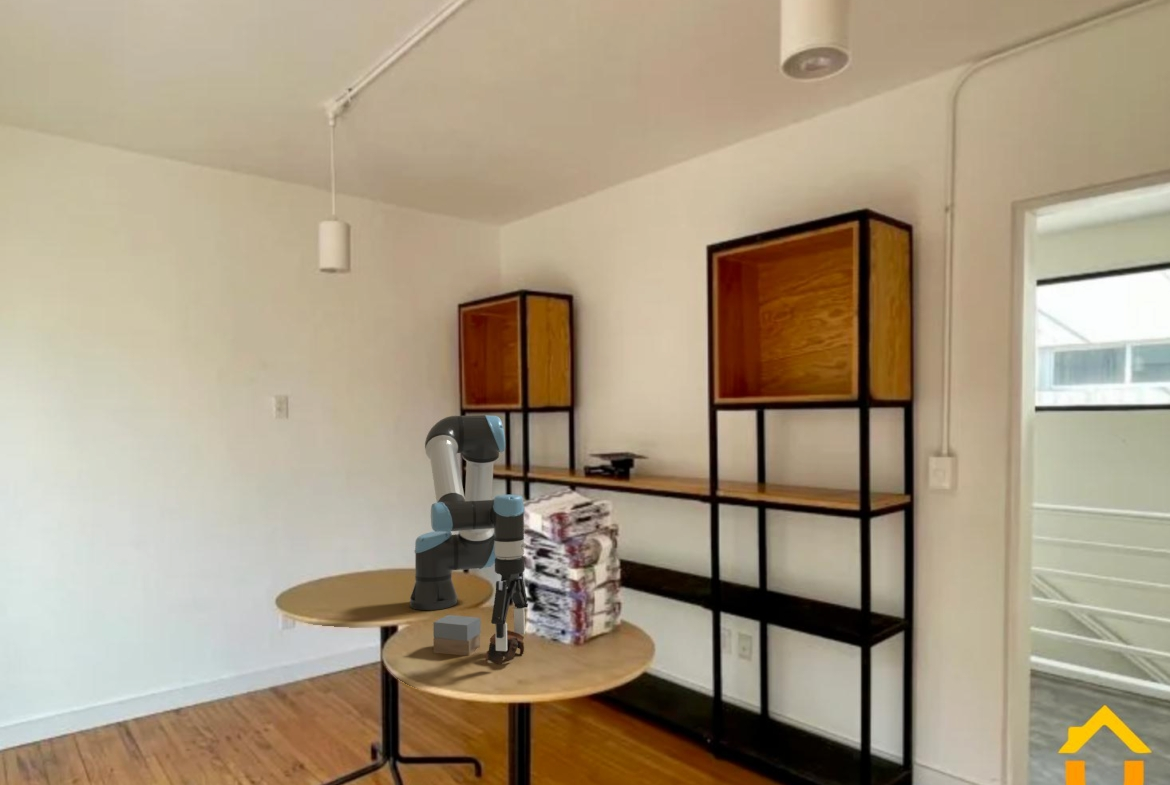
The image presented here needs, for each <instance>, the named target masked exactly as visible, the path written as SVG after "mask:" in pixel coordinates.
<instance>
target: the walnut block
mask: <svg viewBox="0 0 1170 785" xmlns="http://www.w3.org/2000/svg"><path fill="white" fill-rule="evenodd" d="M480 647H481V633H480V634H478V635H477V636H475V637H473V638H472V639H470V640H469V641H460V640H451V639H442V638H434V637H433V653H434V652H435V653H436V654H444V655H445V654H447V655H459V656H460V655H461V656H470V655H471V653H472V652H473V653H475V652H476V651H477V650H478V649H479V648H480ZM477 648H478V649H477ZM476 649H477V650H476ZM435 653H434V654H435ZM473 653H472V654H473Z"/></svg>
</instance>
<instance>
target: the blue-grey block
mask: <svg viewBox="0 0 1170 785" xmlns="http://www.w3.org/2000/svg"><path fill="white" fill-rule="evenodd" d="M481 620H482V619H481V617H476V616H464V615H463V616H462V615H453V614H447V615H445V616H443V617H441V618H439V619H437V620H435V621H433V638H442V639H451V640H460V641H469V640H470V639H472V638H473V637H475V636H477V635H478V634H480V635H481V634H482V632H481V631H482V628H481V625H482V624H481V623H482V622H481Z"/></svg>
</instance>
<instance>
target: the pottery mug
mask: <svg viewBox="0 0 1170 785" xmlns="http://www.w3.org/2000/svg"><path fill="white" fill-rule="evenodd" d="M524 639H525V637H524V636H523V634H519V633H516V632H514V630H510V629H507V651H496V634H495V633H494V634H493V635H492V636H491V637H490V639H489V642H490V643H489V645H488V650H487V651H486V652H485V661H489V662H492V663H496V664H500V665H502V664H503V659H505V660H506V661H512V660H514V659H515V655H516V652H517V650H518V649H519V653H520V655H524V652H525V646H524Z"/></svg>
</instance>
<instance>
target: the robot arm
mask: <svg viewBox="0 0 1170 785" xmlns="http://www.w3.org/2000/svg"><path fill="white" fill-rule="evenodd" d="M424 449H425V454H426V456H427V458H428V459H429V460H430V465H431V473H432V479H433V486H434V487H433V488H434V492H435V499H436V502H434V503H432V504H431V507H430V522H431V523H430V525H431V529H432V531H430V532H426V533H423V534H420V535H419V536H418V537H417V538H416V539H415V543H414V545H415V547H414V555H415V556H414V557H415V570H414V573H415V574H414V576H415V579H414V580H415V581H414V585H413V587H412V588H413V589H412V592H411V594H410V597H409V598H410V599H409V606H410V608H412V609H414V610H419V611H434V610H435V611H436V610H444V609H448V608H451V607H453V606H456V605H457V603H458V594H457V591H456V589H455V586H454V583H453V579H452V571H463V570H474V569H475V570H476V569H479V570H481V569H484V568H485V569H486V568H491V567H492V566H494V572H495V574H498V575H500V578H501V579H500V580H496V582H495V593H494V601H493V607H492V608H493V609H492V616H491V621H490V623H491V624H492V625H495V627H494V628H495V630H494V631H495V633H494V634H496V651H507V630H508V622H506V621H507V615H508V612H509V607H510V601H511V599H512V602H513V604H514V608H513V631H514V632H516V633H519V634H520V635H525V634H526V627H525V626H526V621H525V619H526V617H525V615H526V614H525V609H528V607H529V603H528V597H527V593H526V587H525V580H524V572H525V567H526V566H525V562H526V561H525V557H524V554H525V548H526V547H527V545H526V544H527V543H525V526H524V524H525V518H524V514H525V506H524V498H523V496H522V495H521V494H499V495H496V496H495V497H494V498H493V499H492V495H493V494H492V493H493V480H494V464H495V462H496V461H498V459H499V458H500V453H503V452H505V450H506V437H505V430H504V426H503V422H502V419H501V418H500V417H499V416H498V415H487V414H484V415H482V414H481V415H451V416H446V417H444V418H442V419H440V420H439V421H437V422H435V424H434V425H433V426H432V427H431V428H430V430H429V431H428V433H427V435H426V438H425V443H424ZM457 454H462V455H461V457H462V459H463V460H464V461H466V469H465V488H463V482H462V476H461V472H460V467H459V462H458V456H457ZM464 490H465V491H464ZM452 532H458V534H453V533H452Z"/></svg>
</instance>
